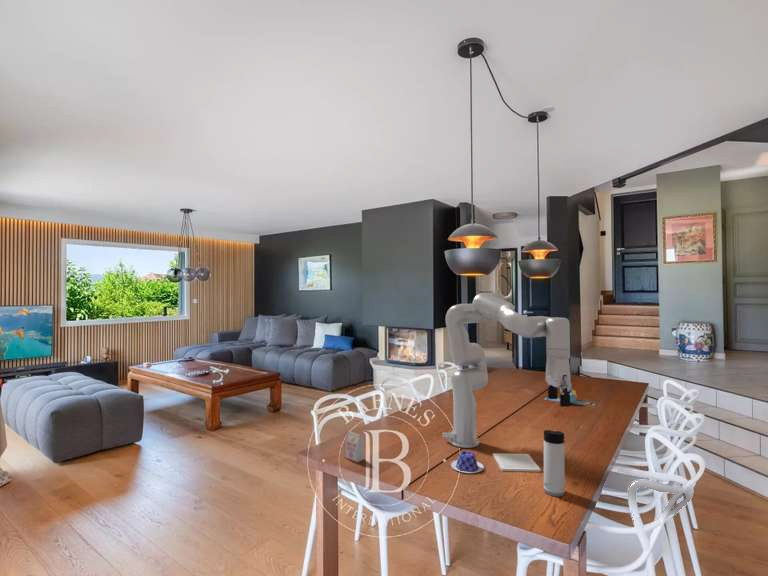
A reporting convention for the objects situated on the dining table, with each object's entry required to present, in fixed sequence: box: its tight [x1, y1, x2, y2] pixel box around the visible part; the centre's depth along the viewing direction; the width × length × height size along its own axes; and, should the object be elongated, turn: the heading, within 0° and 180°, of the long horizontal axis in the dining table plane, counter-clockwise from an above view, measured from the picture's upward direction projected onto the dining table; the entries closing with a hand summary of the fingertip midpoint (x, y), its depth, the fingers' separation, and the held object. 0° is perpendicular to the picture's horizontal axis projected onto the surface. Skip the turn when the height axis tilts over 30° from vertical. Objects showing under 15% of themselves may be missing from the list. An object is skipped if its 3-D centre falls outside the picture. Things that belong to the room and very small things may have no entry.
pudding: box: [450, 450, 484, 474], centre depth 150 cm, size 12×12×5 cm
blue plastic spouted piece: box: [544, 388, 596, 407], centre depth 238 cm, size 28×9×15 cm
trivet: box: [492, 452, 542, 473], centre depth 153 cm, size 14×14×1 cm
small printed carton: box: [344, 430, 365, 463], centre depth 157 cm, size 4×7×10 cm, turn 49°
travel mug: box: [543, 429, 566, 497], centre depth 131 cm, size 6×7×20 cm
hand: (558, 402), depth 139 cm, fingers open, 9 cm apart
